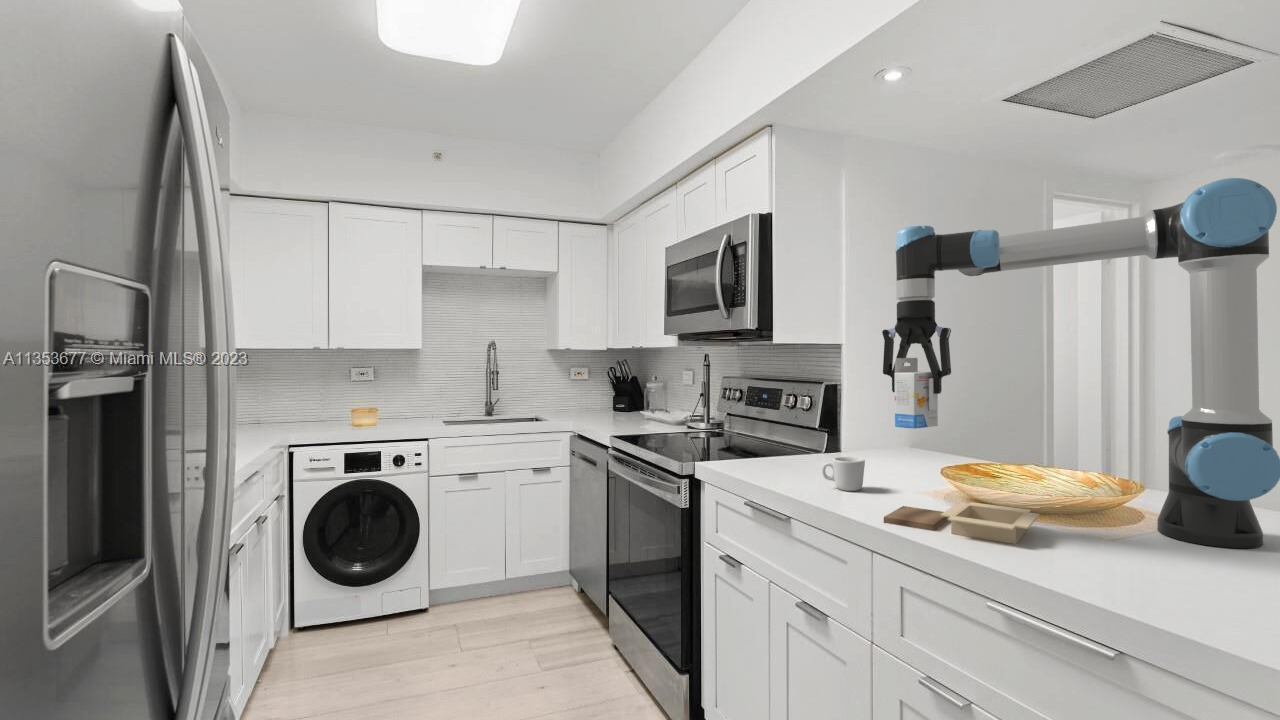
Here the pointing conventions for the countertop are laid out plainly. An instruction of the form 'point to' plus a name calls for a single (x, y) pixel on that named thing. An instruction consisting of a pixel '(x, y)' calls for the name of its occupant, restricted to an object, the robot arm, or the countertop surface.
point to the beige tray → (990, 521)
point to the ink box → (912, 396)
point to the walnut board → (916, 518)
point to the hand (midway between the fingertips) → (916, 408)
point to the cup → (846, 472)
